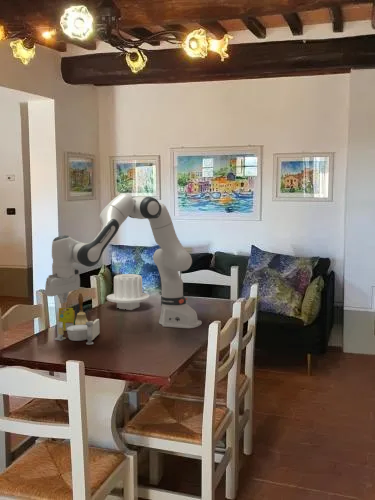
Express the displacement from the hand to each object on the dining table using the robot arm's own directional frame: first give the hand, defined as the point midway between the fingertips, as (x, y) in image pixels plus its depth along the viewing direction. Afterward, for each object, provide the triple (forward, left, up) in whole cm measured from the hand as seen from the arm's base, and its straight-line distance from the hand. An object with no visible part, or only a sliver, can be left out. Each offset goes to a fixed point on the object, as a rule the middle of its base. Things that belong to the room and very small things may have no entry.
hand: (63, 302), depth 245 cm
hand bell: (+16, -33, -19) cm, 42 cm away
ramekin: (0, -10, -19) cm, 22 cm away
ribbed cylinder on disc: (+14, -75, -19) cm, 79 cm away
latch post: (+7, -5, -19) cm, 21 cm away
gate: (-8, -11, -18) cm, 23 cm away
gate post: (-10, -5, -19) cm, 22 cm away
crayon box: (+14, -19, -19) cm, 31 cm away
